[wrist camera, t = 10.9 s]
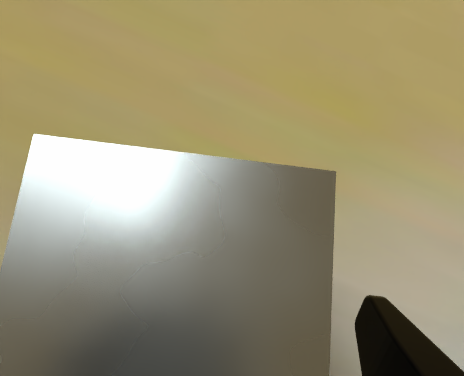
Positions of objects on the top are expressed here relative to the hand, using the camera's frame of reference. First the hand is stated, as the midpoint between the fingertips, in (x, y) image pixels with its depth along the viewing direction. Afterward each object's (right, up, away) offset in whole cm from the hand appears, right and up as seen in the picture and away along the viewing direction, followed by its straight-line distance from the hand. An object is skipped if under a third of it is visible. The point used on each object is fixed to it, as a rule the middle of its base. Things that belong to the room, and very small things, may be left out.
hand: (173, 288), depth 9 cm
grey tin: (-1, -2, +7) cm, 8 cm away
